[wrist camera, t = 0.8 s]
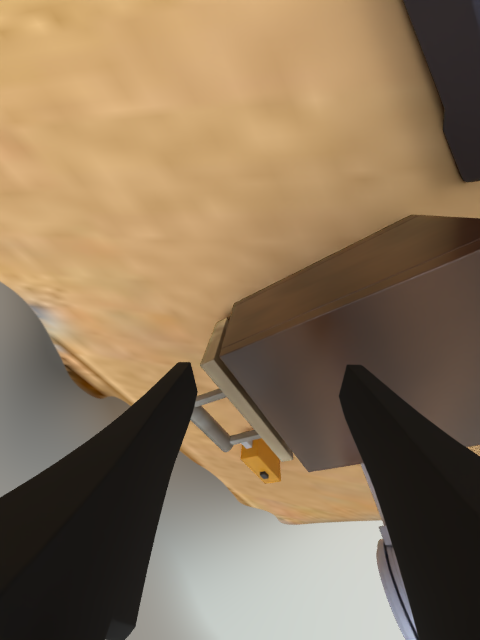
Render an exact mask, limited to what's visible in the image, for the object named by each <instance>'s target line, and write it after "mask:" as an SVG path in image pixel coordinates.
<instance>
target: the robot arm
mask: <svg viewBox="0 0 480 640" xmlns="http://www.w3.org/2000/svg"><path fill="white" fill-rule="evenodd" d="M197 392H198V391H197V387H196V383H195V379H194V375H193V371H192V367H191V363H190V362H178V363H177V364H176V365H175V366H174V367H173V368H172V369H171V370H170V371H169V372H168V373H167V374H166V375H165V376H164V377H163V378H162V379H160V380H159V381H158V382H157V383H156V384H155V385H154V386H153V387H152V388H151V389H150V390H149V391H148V392H147V393H146V394H145V395H144V396H142V397H141V398H140V399H139V400H138V401H137V402H136V403H134V404H133V405H132V406H131V407H130V408H129V409H128V410H127V411H125V412H124V413H123V414H122V415H121V416H119V417H118V418H117V419H116V420H114V421H113V422H112V423H111V424H110V425H108V426H107V427H106V428H104V429H103V430H102V431H100V432H99V433H98V434H96V435H95V436H94V437H92V438H91V439H90V440H88V441H87V442H85V443H84V444H83V445H81V446H80V447H78V448H77V449H75V450H74V451H73V452H71V453H70V454H68V455H67V456H65V457H64V458H62V459H61V460H59V461H58V462H57V463H55V464H53V465H52V466H50V467H49V468H47V469H46V470H44V471H43V472H41V473H40V474H38V475H36V476H35V477H33V478H32V479H30V480H29V481H27V482H25V483H24V484H22V485H20V486H19V487H17V488H16V489H14V490H12V491H10V492H9V493H7V494H5V495H4V496H3V497H1V498H0V640H105V639H106V640H125V639H126V638H127V637H128V636H129V634H130V633H131V632H132V630H133V629H134V628H135V626H136V621H137V616H138V611H139V606H140V602H141V597H142V592H143V587H144V583H145V577H146V573H147V568H148V564H149V560H150V556H151V551H152V547H153V542H154V538H155V534H156V530H157V525H158V522H159V518H160V514H161V510H162V506H163V502H164V498H165V495H166V490H167V487H168V484H169V480H170V476H171V473H172V470H173V467H174V463H175V460H176V458H177V455H178V452H179V450H180V447H181V444H182V441H183V439H184V436H185V433H186V430H187V428H188V425H189V422H190V419H191V416H192V413H193V410H194V406H195V401H196V397H197ZM339 399H340V403H341V407H342V410H343V413H344V417H345V420H346V422H347V425H348V427H349V429H350V432H351V434H352V437H353V439H354V441H355V444H356V446H357V449H358V451H359V453H360V456H361V458H362V460H363V463H362V464H361V467H362V469H363V472H364V475H365V477H366V480H367V482H368V485H369V488H370V490H371V493H372V495H373V498H374V501H375V503H376V506H377V508H378V511H379V514H380V516H381V519H382V521H383V524H384V526H380V527H379V529H380V532H381V534H382V537H383V539H380V540H379V541H378V549H377V564H378V569H379V573H380V577H381V581H382V584H383V587H384V590H385V593H386V596H387V599H388V602H389V604H390V607H391V609H392V612H393V614H394V617H395V619H396V621H397V624H398V626H399V628H400V630H401V632H402V634H403V636H404V638H405V639H406V640H480V456H478V455H477V454H475V453H474V452H472V451H471V450H469V449H468V448H466V447H465V446H464V445H462V444H461V443H459V442H458V441H456V440H455V439H454V438H452V437H451V436H450V435H448V434H447V433H445V432H444V431H443V430H441V429H440V428H439V427H437V426H436V425H435V424H434V423H432V422H431V421H430V420H428V419H427V418H426V417H424V416H423V415H422V414H420V413H419V412H418V411H417V410H415V409H414V408H413V407H412V406H410V405H409V404H408V403H407V402H405V401H404V400H403V399H402V398H401V397H399V396H398V395H397V394H396V393H395V392H393V391H392V390H391V389H390V388H389V387H387V386H386V385H385V384H384V383H383V382H382V381H380V380H379V379H378V378H377V377H376V376H374V375H373V374H372V373H371V372H370V371H369V370H367V369H366V368H365V367H364V366H362V365H347V366H346V370H345V374H344V377H343V381H342V385H341V389H340V393H339Z"/></svg>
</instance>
